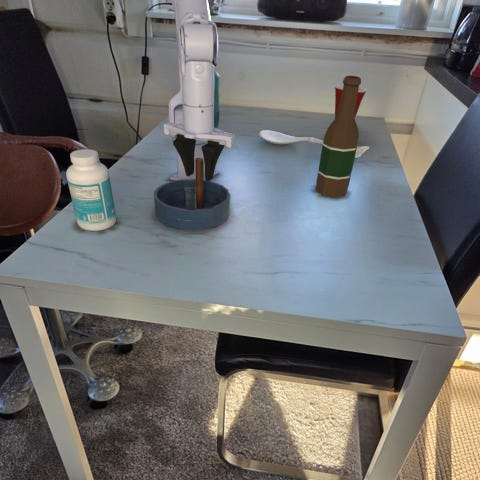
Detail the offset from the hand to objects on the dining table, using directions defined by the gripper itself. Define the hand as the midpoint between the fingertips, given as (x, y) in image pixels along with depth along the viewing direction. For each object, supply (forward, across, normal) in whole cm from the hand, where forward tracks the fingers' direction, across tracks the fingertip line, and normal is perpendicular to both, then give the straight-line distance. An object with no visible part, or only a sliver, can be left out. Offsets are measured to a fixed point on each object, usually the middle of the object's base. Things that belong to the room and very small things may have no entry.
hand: (199, 176), depth 86 cm
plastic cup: (+7, +10, +82) cm, 83 cm away
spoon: (+7, +8, +50) cm, 51 cm away
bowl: (+7, 0, -3) cm, 8 cm away
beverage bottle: (+7, -25, +50) cm, 56 cm away
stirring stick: (+6, 0, 0) cm, 6 cm away
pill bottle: (+7, -14, -16) cm, 22 cm away
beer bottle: (+7, +22, +24) cm, 33 cm away
